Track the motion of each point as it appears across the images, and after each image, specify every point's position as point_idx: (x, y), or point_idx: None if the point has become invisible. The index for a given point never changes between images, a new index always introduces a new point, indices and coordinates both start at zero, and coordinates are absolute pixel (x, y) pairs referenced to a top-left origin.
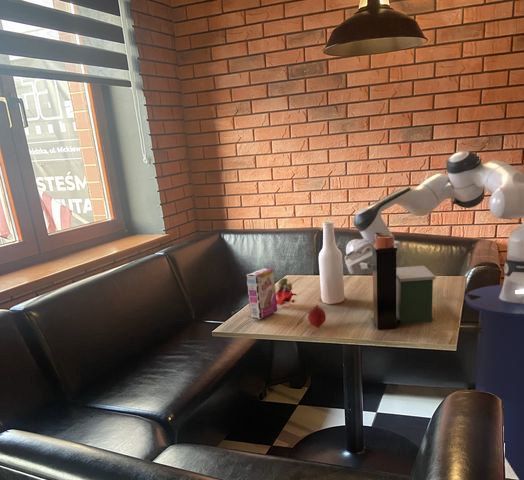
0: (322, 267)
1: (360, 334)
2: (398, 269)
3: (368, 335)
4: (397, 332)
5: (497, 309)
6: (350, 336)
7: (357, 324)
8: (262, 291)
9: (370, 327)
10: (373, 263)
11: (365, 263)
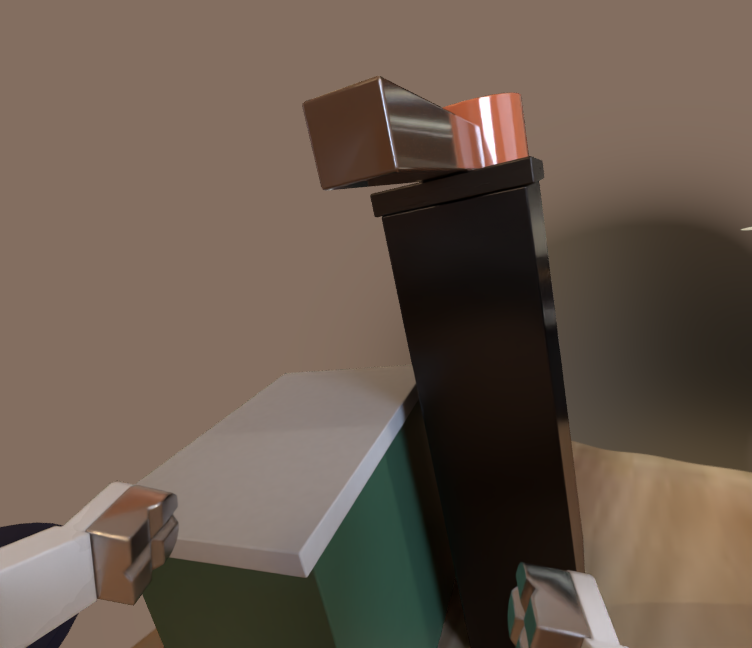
0: None
1: (667, 492)
2: (300, 489)
3: (630, 479)
4: None
5: None
6: (714, 483)
7: (702, 604)
8: None
9: (618, 546)
10: (545, 296)
11: (596, 624)
